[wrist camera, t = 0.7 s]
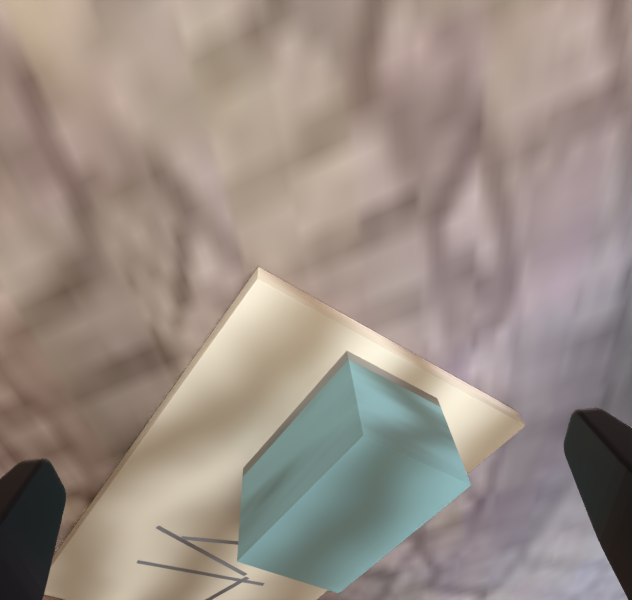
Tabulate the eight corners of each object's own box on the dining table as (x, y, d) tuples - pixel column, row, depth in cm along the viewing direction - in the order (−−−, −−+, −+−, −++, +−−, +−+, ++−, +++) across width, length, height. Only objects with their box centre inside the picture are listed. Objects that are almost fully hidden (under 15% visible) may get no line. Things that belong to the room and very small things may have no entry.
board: (517, 411, 27) (525, 425, 26) (259, 632, 37) (258, 647, 36) (258, 266, 21) (257, 279, 20) (39, 575, 31) (33, 591, 31)
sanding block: (437, 398, 24) (471, 485, 20) (329, 501, 28) (338, 593, 24) (346, 350, 22) (363, 435, 18) (243, 468, 26) (237, 561, 22)
